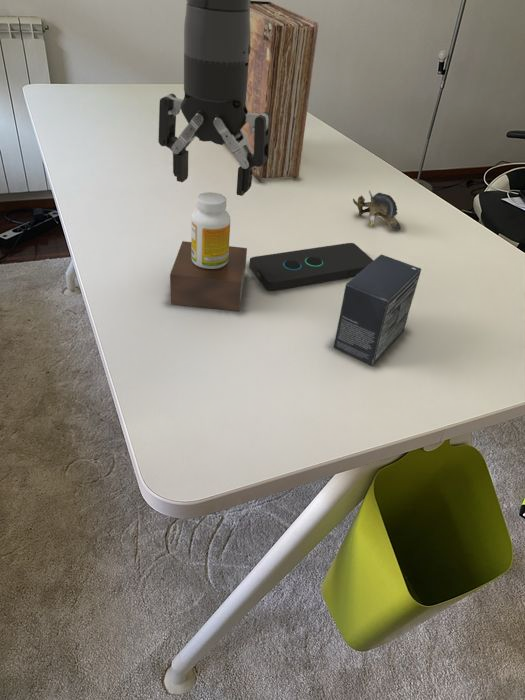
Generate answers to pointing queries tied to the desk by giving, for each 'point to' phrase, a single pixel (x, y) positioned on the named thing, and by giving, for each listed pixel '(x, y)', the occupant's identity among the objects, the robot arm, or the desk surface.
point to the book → (280, 83)
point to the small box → (375, 308)
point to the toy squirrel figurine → (379, 209)
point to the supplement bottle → (210, 231)
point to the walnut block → (208, 281)
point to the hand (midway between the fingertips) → (211, 186)
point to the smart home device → (309, 266)
